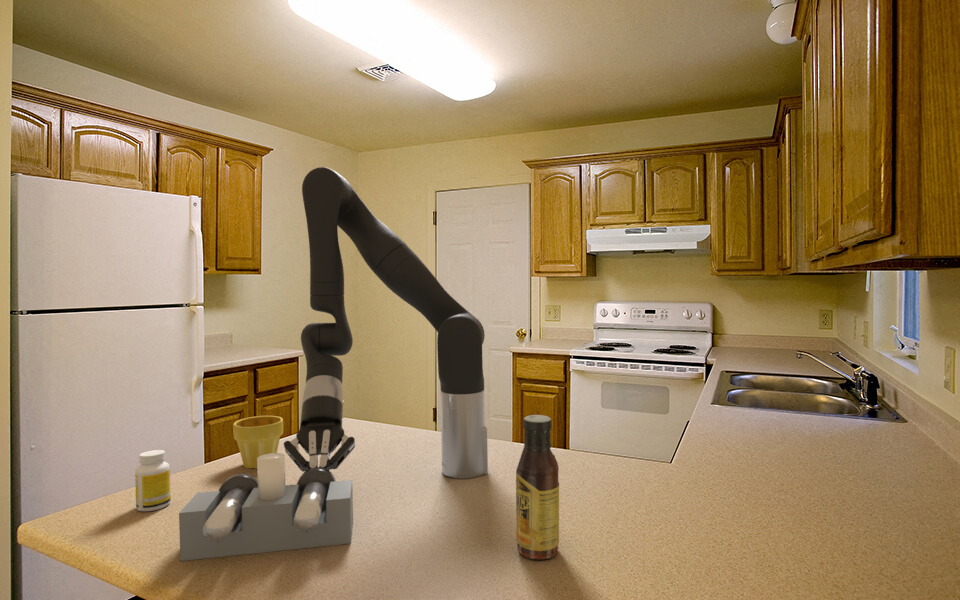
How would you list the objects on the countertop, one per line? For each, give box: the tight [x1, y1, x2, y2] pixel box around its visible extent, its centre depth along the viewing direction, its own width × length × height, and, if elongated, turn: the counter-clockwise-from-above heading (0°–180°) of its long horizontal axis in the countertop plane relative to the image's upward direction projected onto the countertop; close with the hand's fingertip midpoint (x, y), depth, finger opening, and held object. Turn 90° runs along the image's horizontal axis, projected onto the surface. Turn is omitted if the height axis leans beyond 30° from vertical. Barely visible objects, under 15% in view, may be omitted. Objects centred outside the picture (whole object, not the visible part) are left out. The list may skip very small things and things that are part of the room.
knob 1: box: [203, 472, 258, 542], centre depth 82 cm, size 6×14×6 cm, turn 11°
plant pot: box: [232, 415, 284, 469], centre depth 121 cm, size 10×10×10 cm
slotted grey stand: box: [178, 479, 354, 562], centre depth 84 cm, size 24×8×7 cm, turn 101°
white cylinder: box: [256, 452, 286, 500], centre depth 84 cm, size 4×4×6 cm
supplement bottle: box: [134, 449, 171, 512], centre depth 98 cm, size 5×5×10 cm
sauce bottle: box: [515, 414, 560, 561], centre depth 79 cm, size 7×6×20 cm
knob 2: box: [293, 466, 337, 533], centre depth 85 cm, size 6×14×6 cm, turn 11°
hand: (317, 491), depth 92 cm, fingers closed
